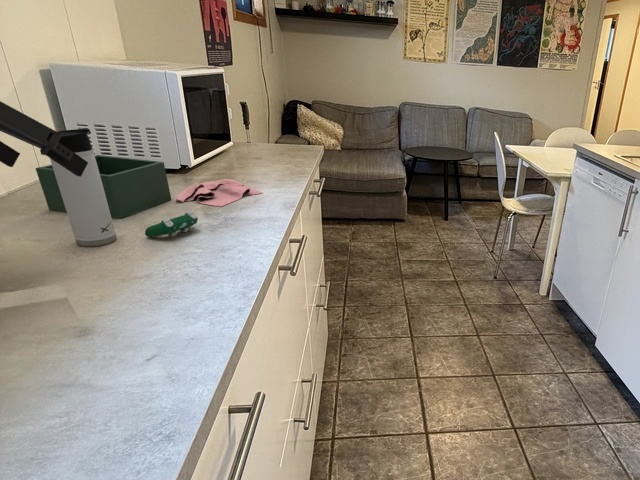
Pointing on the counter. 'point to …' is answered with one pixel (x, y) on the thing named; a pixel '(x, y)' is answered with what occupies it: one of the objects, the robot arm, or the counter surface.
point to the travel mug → (84, 193)
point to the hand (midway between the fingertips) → (48, 164)
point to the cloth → (216, 192)
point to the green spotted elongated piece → (172, 225)
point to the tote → (117, 185)
